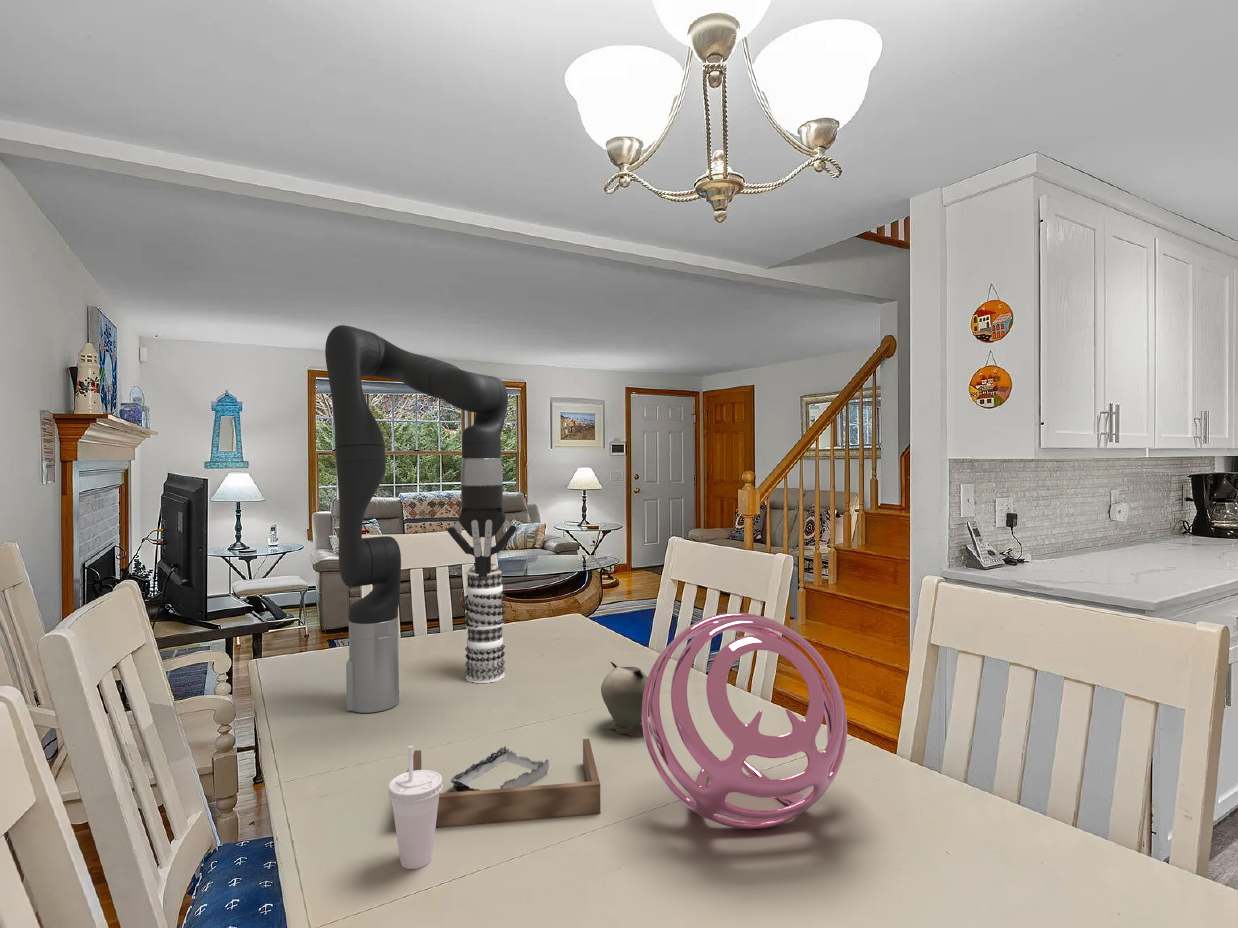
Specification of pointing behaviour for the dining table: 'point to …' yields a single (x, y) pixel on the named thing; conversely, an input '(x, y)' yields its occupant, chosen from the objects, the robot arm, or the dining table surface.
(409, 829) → the smoothie
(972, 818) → the dining table surface
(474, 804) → the box
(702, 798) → the pink openwork sphere
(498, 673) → the decorative candle
